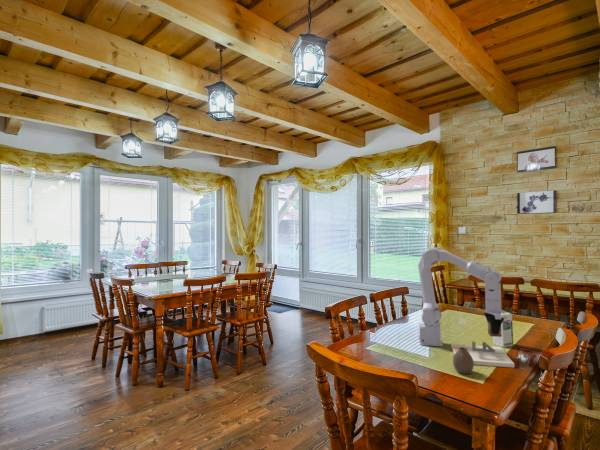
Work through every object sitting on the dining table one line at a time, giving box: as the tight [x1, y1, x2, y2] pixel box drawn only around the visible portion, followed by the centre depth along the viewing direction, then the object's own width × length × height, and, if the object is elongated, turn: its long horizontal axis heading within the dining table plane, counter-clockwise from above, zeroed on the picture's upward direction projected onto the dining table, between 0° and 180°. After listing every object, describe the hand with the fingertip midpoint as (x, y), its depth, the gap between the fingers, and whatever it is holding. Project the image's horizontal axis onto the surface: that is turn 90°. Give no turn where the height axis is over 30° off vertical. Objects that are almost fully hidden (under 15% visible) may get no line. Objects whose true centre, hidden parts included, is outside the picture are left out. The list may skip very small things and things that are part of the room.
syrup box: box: [492, 311, 514, 348], centre depth 153 cm, size 6×6×14 cm
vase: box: [452, 347, 475, 375], centre depth 126 cm, size 7×7×9 cm
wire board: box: [450, 343, 515, 369], centre depth 140 cm, size 20×18×2 cm
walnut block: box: [487, 321, 501, 337], centre depth 141 cm, size 4×4×5 cm
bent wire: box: [471, 341, 495, 352], centre depth 139 cm, size 8×9×4 cm
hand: (493, 332), depth 141 cm, fingers closed on walnut block, 4 cm apart
